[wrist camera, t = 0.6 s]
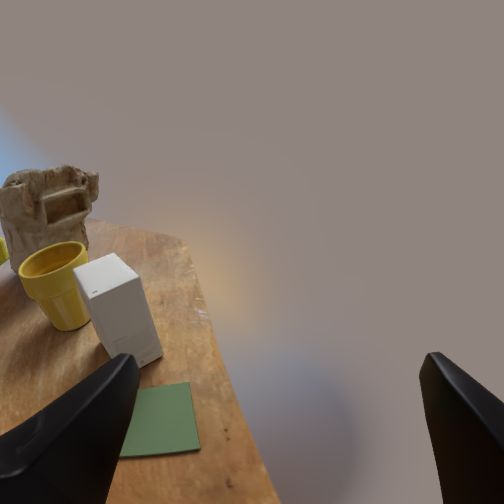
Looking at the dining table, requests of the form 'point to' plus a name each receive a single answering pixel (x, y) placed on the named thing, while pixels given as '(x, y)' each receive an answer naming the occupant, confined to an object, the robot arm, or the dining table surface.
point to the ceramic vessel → (45, 209)
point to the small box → (118, 308)
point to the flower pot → (56, 283)
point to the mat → (162, 422)
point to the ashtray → (3, 251)
